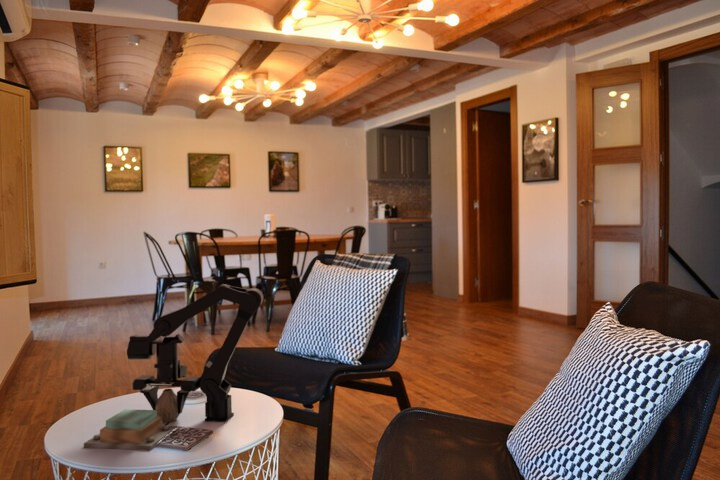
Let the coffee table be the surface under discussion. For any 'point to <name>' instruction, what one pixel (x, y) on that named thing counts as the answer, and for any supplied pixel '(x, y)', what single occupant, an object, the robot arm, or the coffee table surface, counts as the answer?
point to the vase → (167, 406)
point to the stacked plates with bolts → (131, 431)
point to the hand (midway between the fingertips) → (168, 413)
